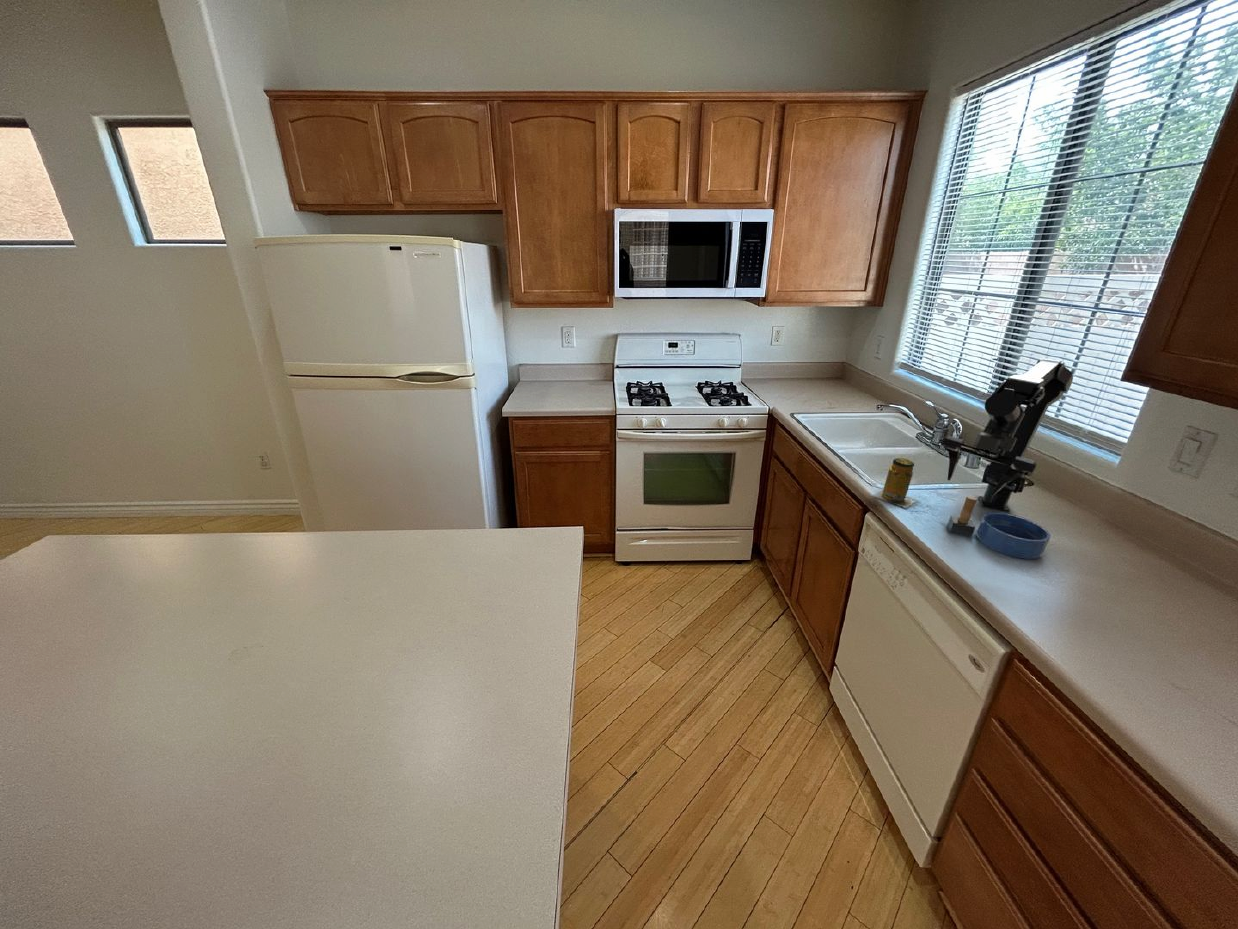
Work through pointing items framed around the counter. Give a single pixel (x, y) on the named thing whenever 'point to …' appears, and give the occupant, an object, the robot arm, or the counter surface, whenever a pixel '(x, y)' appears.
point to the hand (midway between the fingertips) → (969, 487)
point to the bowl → (1013, 535)
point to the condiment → (898, 483)
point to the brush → (963, 519)
